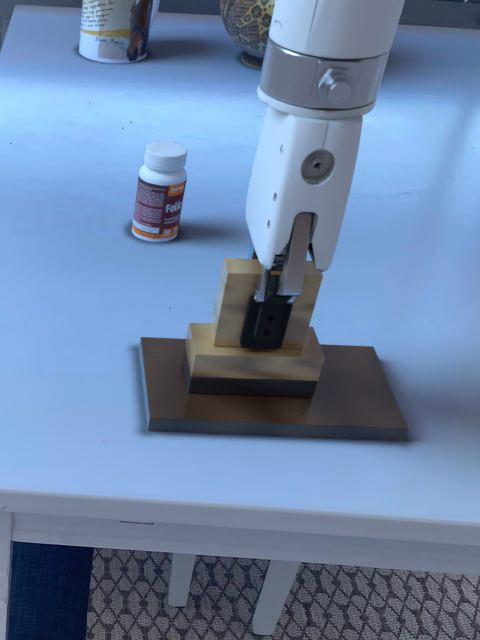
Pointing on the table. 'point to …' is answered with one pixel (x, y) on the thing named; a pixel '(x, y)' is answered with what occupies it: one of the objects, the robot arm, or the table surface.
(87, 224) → the table surface
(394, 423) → the board
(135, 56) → the mug
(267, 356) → the wooden handled stamp
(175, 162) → the pill bottle
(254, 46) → the decorative ceramic pot
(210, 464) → the table surface
